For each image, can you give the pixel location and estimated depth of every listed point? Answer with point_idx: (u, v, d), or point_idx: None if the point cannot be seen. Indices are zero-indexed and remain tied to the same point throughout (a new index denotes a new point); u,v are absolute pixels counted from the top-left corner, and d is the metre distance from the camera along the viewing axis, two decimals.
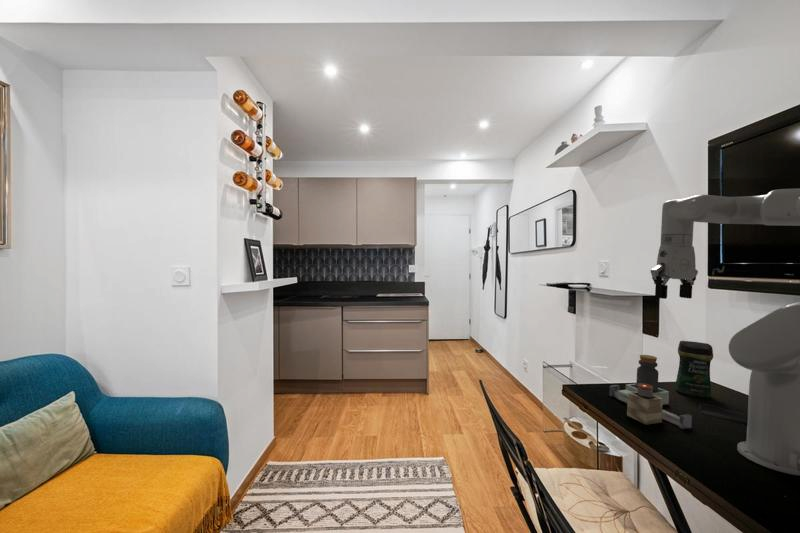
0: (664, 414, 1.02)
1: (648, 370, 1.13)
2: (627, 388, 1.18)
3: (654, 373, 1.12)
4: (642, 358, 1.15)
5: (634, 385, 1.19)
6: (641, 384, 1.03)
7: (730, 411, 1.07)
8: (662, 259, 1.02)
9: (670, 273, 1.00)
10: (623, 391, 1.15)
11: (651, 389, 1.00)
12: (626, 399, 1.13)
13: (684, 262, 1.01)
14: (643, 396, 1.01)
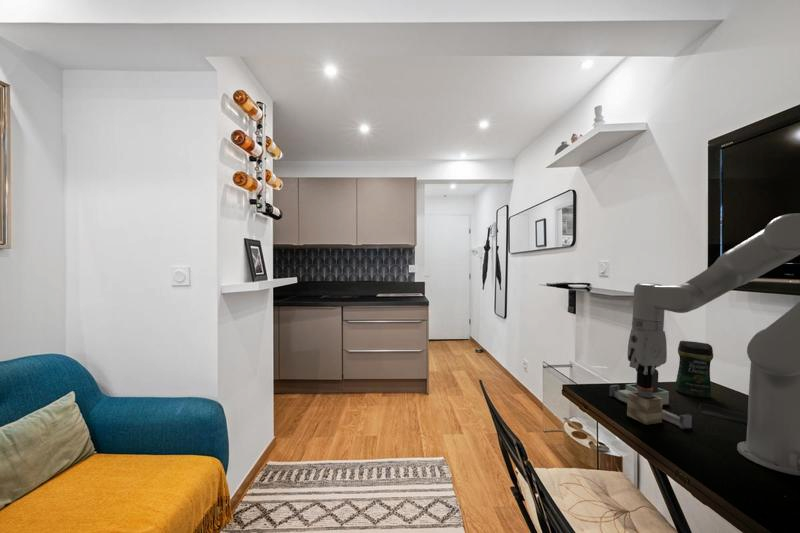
0: (664, 414, 1.02)
1: None
2: (627, 388, 1.18)
3: (654, 373, 1.12)
4: None
5: (634, 385, 1.19)
6: None
7: (730, 411, 1.07)
8: (633, 345, 1.00)
9: (640, 360, 0.98)
10: (623, 391, 1.15)
11: (651, 390, 1.00)
12: (626, 399, 1.13)
13: (655, 348, 0.99)
14: (643, 397, 1.01)
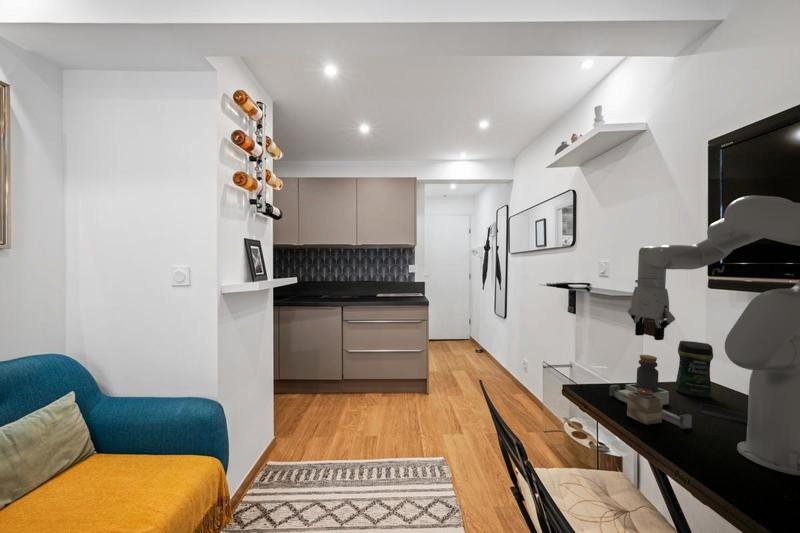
0: (664, 414, 1.02)
1: (648, 370, 1.13)
2: (627, 388, 1.18)
3: (654, 373, 1.12)
4: (642, 358, 1.15)
5: (634, 385, 1.19)
6: (641, 389, 1.03)
7: (730, 411, 1.07)
8: None
9: (631, 310, 1.19)
10: (623, 391, 1.15)
11: (651, 394, 1.00)
12: (626, 399, 1.13)
13: (643, 302, 1.14)
14: None
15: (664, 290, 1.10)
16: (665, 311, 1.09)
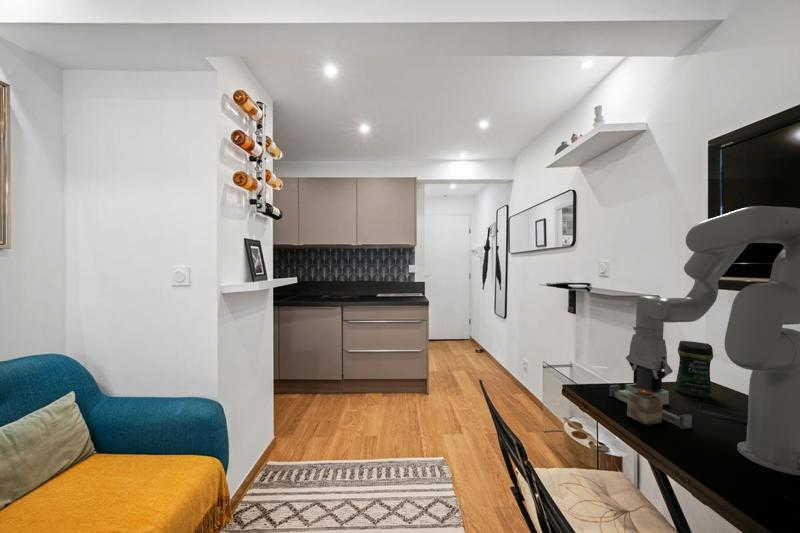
0: (664, 414, 1.02)
1: (648, 370, 1.13)
2: (627, 388, 1.18)
3: None
4: None
5: (634, 385, 1.19)
6: (641, 389, 1.03)
7: (730, 411, 1.07)
8: None
9: (629, 357, 1.19)
10: (623, 391, 1.15)
11: (651, 394, 1.00)
12: (626, 399, 1.13)
13: (641, 351, 1.14)
14: None
15: (661, 341, 1.10)
16: (663, 362, 1.10)
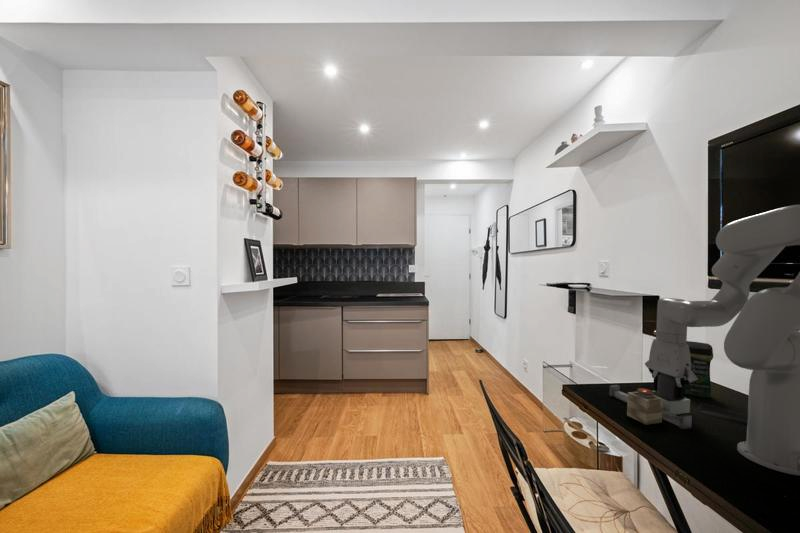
0: (664, 414, 1.02)
1: (670, 378, 1.06)
2: None
3: None
4: None
5: None
6: (641, 389, 1.03)
7: (730, 411, 1.07)
8: None
9: (649, 363, 1.12)
10: None
11: (651, 394, 1.00)
12: None
13: (663, 357, 1.08)
14: None
15: (685, 347, 1.04)
16: (687, 370, 1.03)
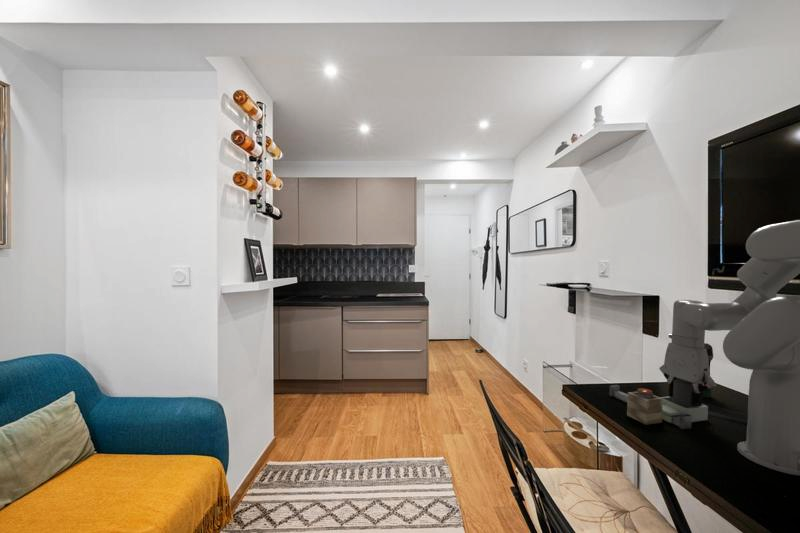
0: None
1: (687, 383, 1.01)
2: None
3: None
4: None
5: (667, 398, 1.08)
6: (641, 389, 1.03)
7: (730, 411, 1.07)
8: None
9: (664, 368, 1.08)
10: None
11: (651, 394, 1.00)
12: None
13: (679, 362, 1.03)
14: None
15: (703, 352, 0.99)
16: (705, 375, 0.98)
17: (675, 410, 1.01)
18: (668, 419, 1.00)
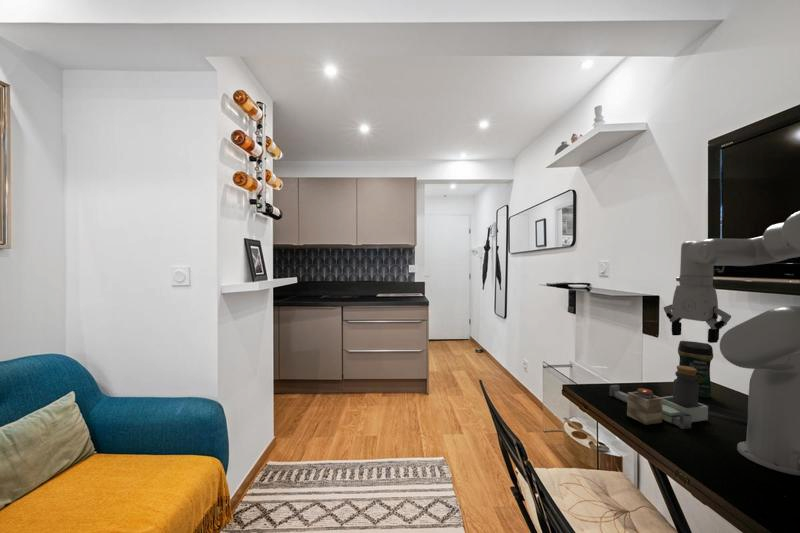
0: None
1: (687, 383, 1.01)
2: None
3: (694, 387, 1.01)
4: (680, 370, 1.03)
5: (667, 398, 1.08)
6: (641, 389, 1.03)
7: (730, 411, 1.07)
8: None
9: (672, 311, 1.07)
10: None
11: (651, 394, 1.00)
12: None
13: (688, 302, 1.03)
14: None
15: (712, 289, 0.99)
16: (716, 310, 0.98)
17: (675, 410, 1.01)
18: (668, 419, 1.00)
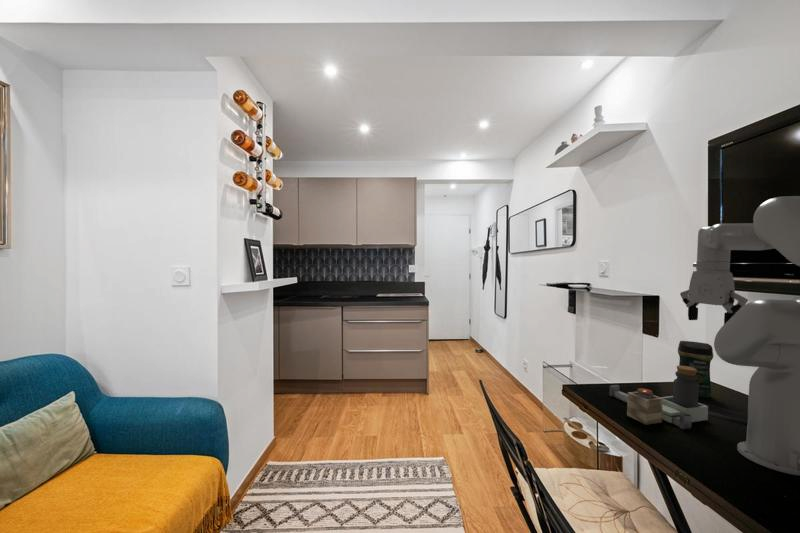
0: None
1: (687, 383, 1.01)
2: None
3: (694, 387, 1.01)
4: (680, 370, 1.03)
5: (667, 398, 1.08)
6: (641, 389, 1.03)
7: (730, 411, 1.07)
8: None
9: (688, 296, 1.09)
10: None
11: (651, 394, 1.00)
12: None
13: (704, 287, 1.05)
14: None
15: (729, 274, 1.01)
16: (733, 294, 1.00)
17: (675, 410, 1.01)
18: (668, 419, 1.00)
